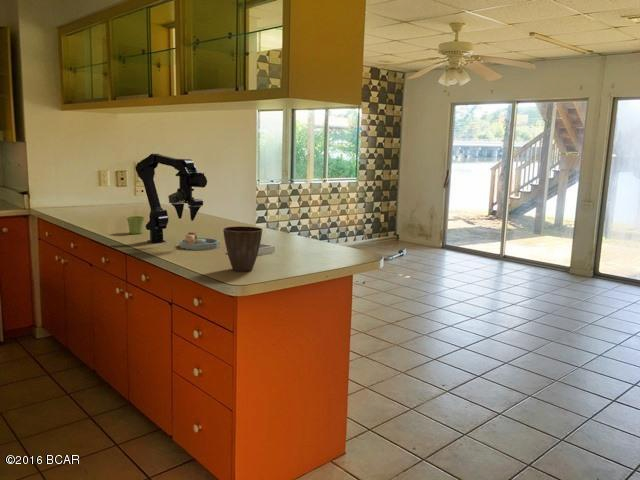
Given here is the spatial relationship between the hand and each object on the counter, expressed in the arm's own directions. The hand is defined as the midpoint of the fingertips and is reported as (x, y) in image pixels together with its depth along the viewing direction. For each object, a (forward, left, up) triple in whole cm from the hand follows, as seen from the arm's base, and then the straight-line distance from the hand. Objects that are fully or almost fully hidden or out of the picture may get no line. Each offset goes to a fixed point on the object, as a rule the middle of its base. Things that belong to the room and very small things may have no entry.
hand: (186, 219), depth 250 cm
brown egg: (+5, -2, -12) cm, 13 cm away
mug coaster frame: (+32, +12, -12) cm, 36 cm away
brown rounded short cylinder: (0, +4, -12) cm, 12 cm away
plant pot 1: (-47, +3, -13) cm, 49 cm away
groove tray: (+5, +4, -12) cm, 14 cm away
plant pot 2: (+55, -15, -13) cm, 58 cm away
